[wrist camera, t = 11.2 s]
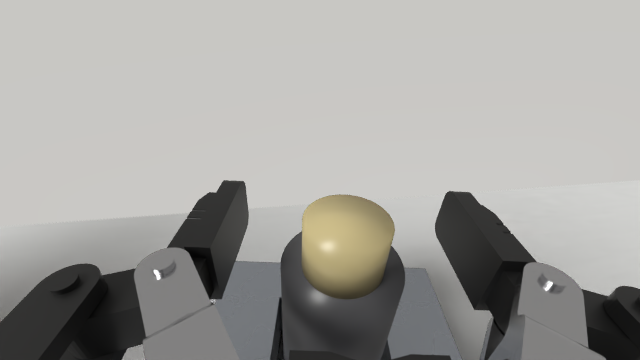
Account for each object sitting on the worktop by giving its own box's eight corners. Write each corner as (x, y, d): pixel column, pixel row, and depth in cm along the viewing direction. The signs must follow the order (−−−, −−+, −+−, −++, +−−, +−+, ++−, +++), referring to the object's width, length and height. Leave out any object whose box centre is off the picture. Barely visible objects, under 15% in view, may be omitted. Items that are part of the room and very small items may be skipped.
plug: (279, 439, 13) (267, 273, 7) (289, 343, 17) (287, 181, 11) (372, 442, 13) (441, 280, 7) (360, 346, 17) (399, 186, 11)
